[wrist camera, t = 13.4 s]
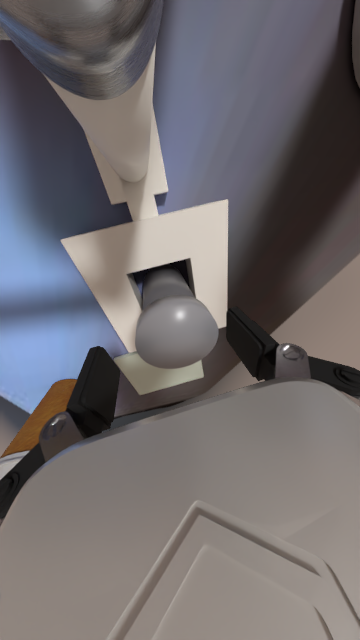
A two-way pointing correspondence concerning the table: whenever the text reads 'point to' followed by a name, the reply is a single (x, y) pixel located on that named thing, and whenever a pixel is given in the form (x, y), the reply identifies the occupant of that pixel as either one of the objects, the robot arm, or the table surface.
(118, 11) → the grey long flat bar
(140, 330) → the plug
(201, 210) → the socket base
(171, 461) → the robot arm
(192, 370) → the rubber mat
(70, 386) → the disposable coffee cup
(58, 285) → the table surface
